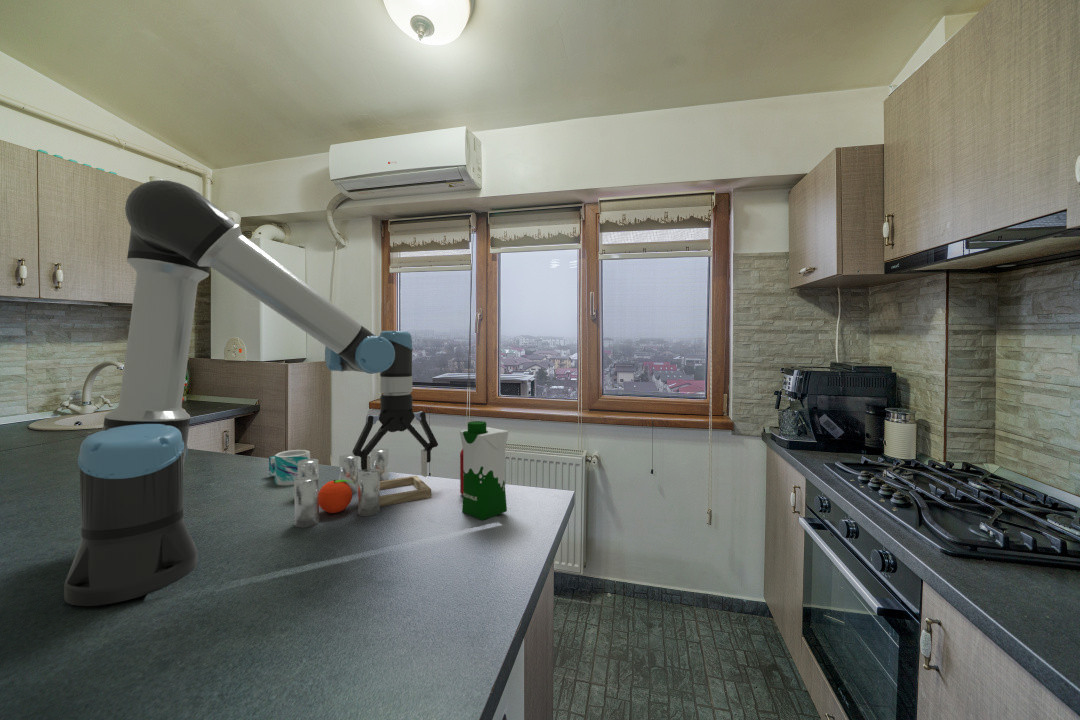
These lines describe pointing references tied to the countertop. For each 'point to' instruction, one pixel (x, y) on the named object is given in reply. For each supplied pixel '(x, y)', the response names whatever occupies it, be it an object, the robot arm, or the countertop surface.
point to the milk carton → (483, 470)
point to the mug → (286, 466)
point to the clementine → (335, 496)
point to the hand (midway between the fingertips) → (397, 479)
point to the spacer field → (348, 470)
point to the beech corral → (404, 496)
